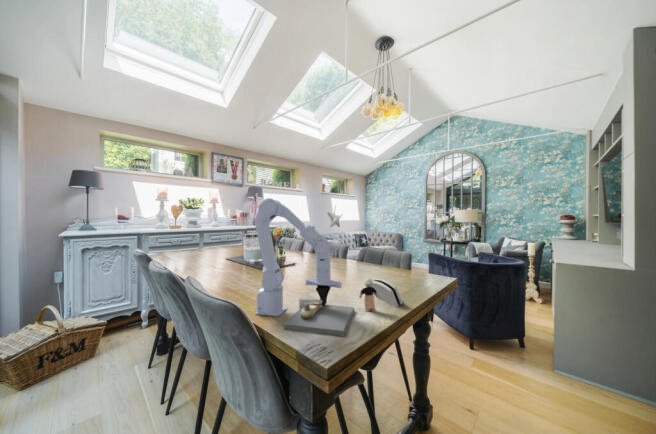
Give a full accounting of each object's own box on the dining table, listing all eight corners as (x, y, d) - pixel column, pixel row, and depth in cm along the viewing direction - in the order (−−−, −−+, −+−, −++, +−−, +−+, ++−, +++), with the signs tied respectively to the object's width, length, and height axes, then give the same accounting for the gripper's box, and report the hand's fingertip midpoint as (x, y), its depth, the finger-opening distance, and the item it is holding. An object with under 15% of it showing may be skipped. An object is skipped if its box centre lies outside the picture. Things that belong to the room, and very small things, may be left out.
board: (283, 328, 75) (283, 324, 75) (305, 306, 95) (305, 303, 95) (343, 335, 70) (343, 331, 70) (354, 311, 89) (353, 307, 89)
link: (309, 319, 78) (309, 307, 78) (298, 317, 79) (298, 306, 80) (328, 303, 93) (328, 293, 93) (318, 302, 94) (318, 292, 94)
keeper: (299, 310, 87) (299, 299, 87) (301, 308, 89) (301, 297, 89) (320, 312, 84) (320, 301, 85) (322, 310, 86) (322, 299, 86)
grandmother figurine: (374, 307, 93) (374, 275, 93) (379, 310, 89) (379, 278, 89) (357, 310, 90) (357, 277, 90) (362, 313, 87) (361, 279, 87)
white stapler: (406, 304, 95) (399, 283, 94) (397, 310, 93) (390, 288, 92) (380, 293, 110) (374, 274, 109) (373, 298, 108) (366, 279, 107)
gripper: (344, 268, 90) (344, 303, 90) (311, 266, 96) (311, 299, 95) (337, 272, 83) (338, 310, 83) (302, 270, 89) (303, 305, 89)
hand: (323, 304), depth 89 cm, fingers closed
